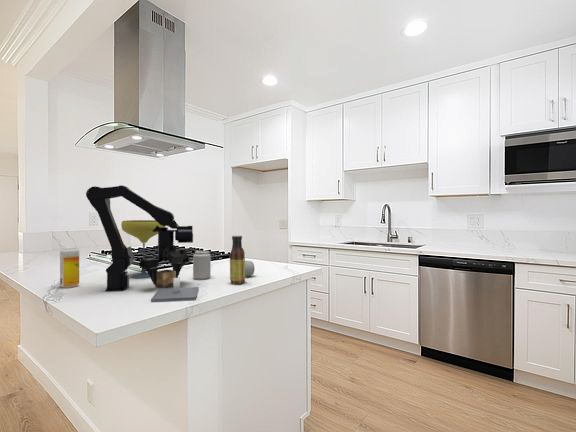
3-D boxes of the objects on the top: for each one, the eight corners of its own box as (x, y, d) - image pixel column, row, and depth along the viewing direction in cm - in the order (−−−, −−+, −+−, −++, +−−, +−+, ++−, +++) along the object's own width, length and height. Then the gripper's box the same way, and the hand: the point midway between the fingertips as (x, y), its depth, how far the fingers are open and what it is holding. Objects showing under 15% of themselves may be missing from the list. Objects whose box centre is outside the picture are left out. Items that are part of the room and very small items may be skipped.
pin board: (151, 302, 100) (151, 283, 100) (159, 291, 114) (159, 274, 113) (195, 300, 103) (195, 282, 103) (198, 289, 117) (198, 273, 116)
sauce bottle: (239, 280, 132) (239, 234, 132) (248, 283, 128) (248, 235, 127) (226, 283, 128) (226, 235, 127) (235, 285, 123) (235, 236, 123)
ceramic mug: (255, 277, 139) (255, 260, 139) (238, 279, 135) (238, 261, 135) (245, 273, 148) (245, 257, 148) (229, 275, 144) (229, 258, 144)
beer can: (82, 285, 120) (82, 247, 120) (66, 289, 115) (66, 249, 114) (73, 283, 123) (73, 246, 123) (56, 287, 117) (56, 248, 117)
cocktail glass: (116, 275, 140) (116, 220, 140) (157, 270, 152) (157, 220, 152) (127, 282, 127) (128, 221, 126) (171, 276, 139) (171, 221, 138)
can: (205, 280, 132) (205, 252, 131) (189, 279, 133) (189, 252, 133) (213, 276, 139) (213, 250, 139) (198, 276, 141) (198, 249, 140)
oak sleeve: (163, 288, 117) (163, 273, 117) (155, 286, 120) (155, 271, 120) (175, 286, 121) (175, 270, 121) (167, 284, 124) (167, 269, 124)
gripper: (157, 246, 108) (156, 290, 108) (198, 242, 124) (198, 280, 124) (138, 244, 114) (138, 286, 114) (180, 240, 130) (180, 277, 130)
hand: (165, 282), depth 121 cm, fingers open, 9 cm apart
